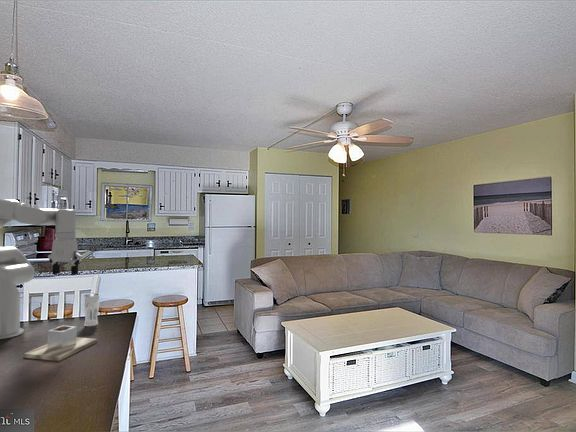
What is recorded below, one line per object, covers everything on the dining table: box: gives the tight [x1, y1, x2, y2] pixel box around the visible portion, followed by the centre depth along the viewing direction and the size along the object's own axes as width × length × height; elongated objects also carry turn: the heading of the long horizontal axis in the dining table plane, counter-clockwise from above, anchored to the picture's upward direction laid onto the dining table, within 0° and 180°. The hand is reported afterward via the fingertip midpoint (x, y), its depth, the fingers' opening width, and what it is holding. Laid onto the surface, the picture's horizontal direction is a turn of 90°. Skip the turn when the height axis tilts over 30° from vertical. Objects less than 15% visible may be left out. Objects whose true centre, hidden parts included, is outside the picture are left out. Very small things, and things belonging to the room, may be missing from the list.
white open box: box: [46, 324, 78, 350], centre depth 136 cm, size 7×7×7 cm
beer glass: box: [82, 293, 100, 328], centre depth 168 cm, size 7×7×15 cm
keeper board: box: [23, 330, 98, 362], centre depth 136 cm, size 16×19×8 cm
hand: (65, 274), depth 151 cm, fingers open, 9 cm apart
